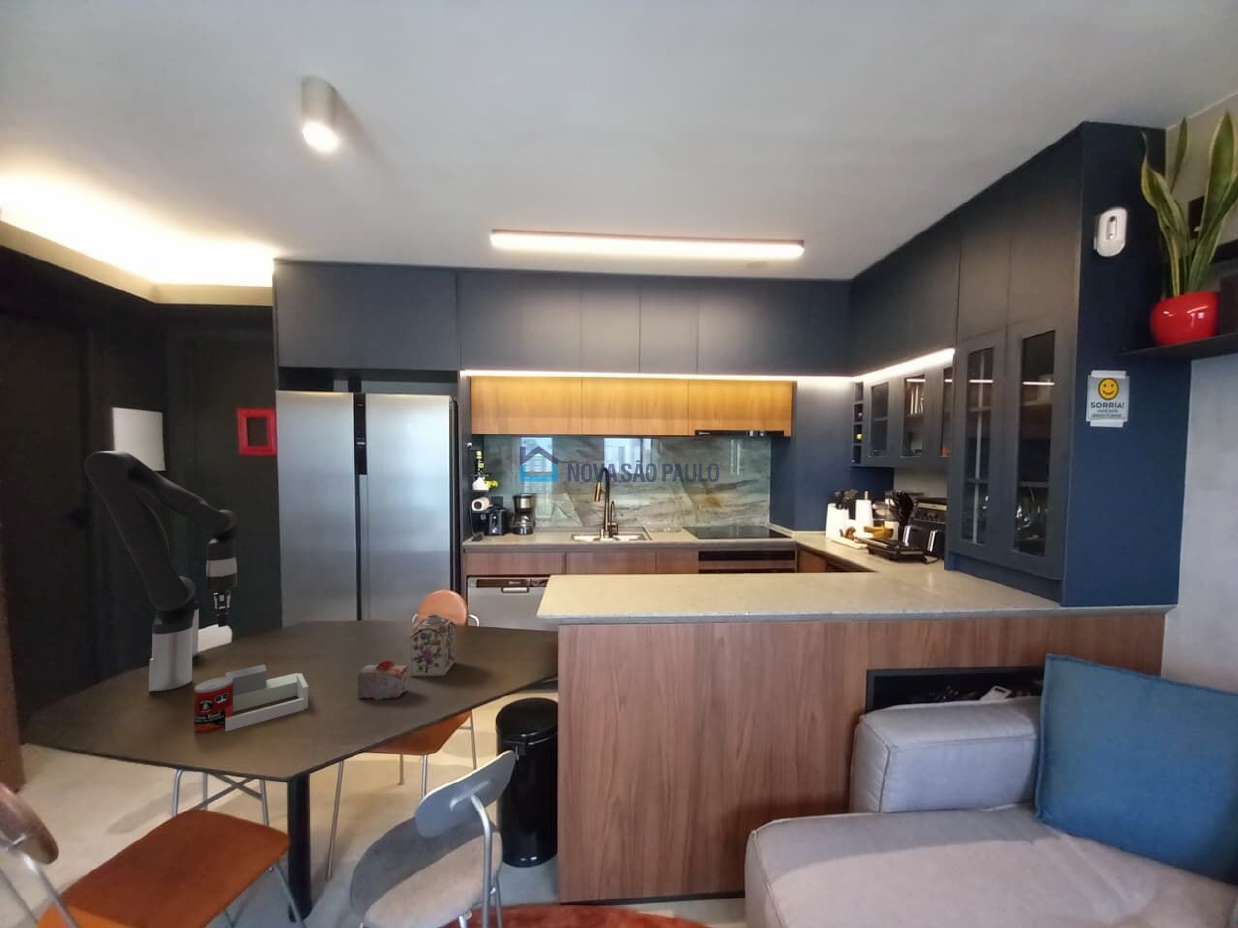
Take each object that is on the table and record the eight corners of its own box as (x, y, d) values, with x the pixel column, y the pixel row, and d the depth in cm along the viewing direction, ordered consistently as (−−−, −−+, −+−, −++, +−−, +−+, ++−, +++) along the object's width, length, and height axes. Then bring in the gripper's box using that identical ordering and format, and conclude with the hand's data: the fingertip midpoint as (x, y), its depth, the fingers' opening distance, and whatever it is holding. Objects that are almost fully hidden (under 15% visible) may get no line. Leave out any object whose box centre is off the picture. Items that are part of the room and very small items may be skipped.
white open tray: (215, 734, 121) (215, 698, 121) (213, 706, 135) (214, 674, 135) (308, 708, 134) (308, 676, 134) (297, 685, 148) (298, 656, 148)
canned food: (186, 735, 120) (187, 691, 120) (204, 719, 128) (205, 678, 128) (222, 730, 122) (223, 687, 123) (238, 715, 130) (239, 675, 130)
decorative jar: (456, 662, 167) (456, 610, 167) (445, 676, 155) (445, 621, 155) (421, 662, 166) (422, 611, 167) (407, 677, 155) (408, 621, 155)
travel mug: (195, 651, 176) (196, 597, 176) (199, 656, 172) (200, 600, 172) (172, 656, 171) (173, 601, 172) (176, 661, 167) (177, 604, 167)
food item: (412, 689, 146) (412, 656, 147) (401, 701, 138) (401, 667, 139) (367, 689, 146) (367, 657, 146) (353, 701, 138) (354, 667, 138)
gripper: (207, 570, 156) (208, 620, 156) (205, 578, 145) (206, 631, 145) (236, 567, 161) (237, 615, 161) (236, 574, 150) (237, 625, 150)
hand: (222, 622), depth 153 cm, fingers open, 8 cm apart
